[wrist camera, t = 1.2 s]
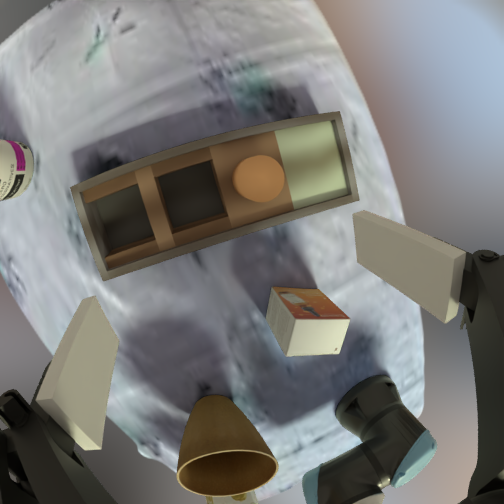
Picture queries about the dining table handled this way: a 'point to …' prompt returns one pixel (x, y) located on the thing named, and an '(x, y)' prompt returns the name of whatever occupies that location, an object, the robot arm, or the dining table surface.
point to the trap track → (211, 192)
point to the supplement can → (14, 169)
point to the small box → (306, 322)
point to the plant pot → (222, 451)
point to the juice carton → (234, 499)
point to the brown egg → (258, 178)
